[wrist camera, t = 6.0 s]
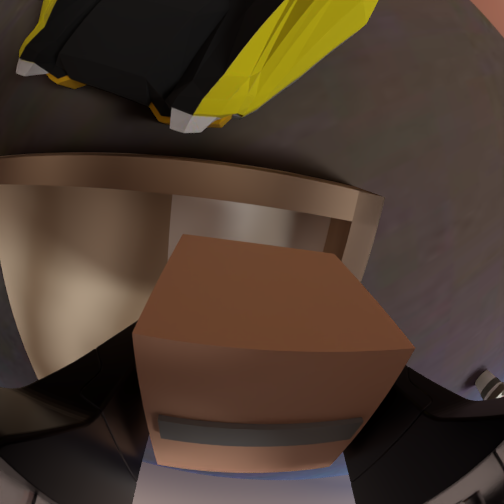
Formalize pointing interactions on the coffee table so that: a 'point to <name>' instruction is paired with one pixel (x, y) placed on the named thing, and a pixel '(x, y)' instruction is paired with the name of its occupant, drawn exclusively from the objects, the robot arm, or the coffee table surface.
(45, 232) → the arena
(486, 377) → the coffee cup
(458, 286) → the coffee table surface
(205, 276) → the cube
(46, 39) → the gaming controller
